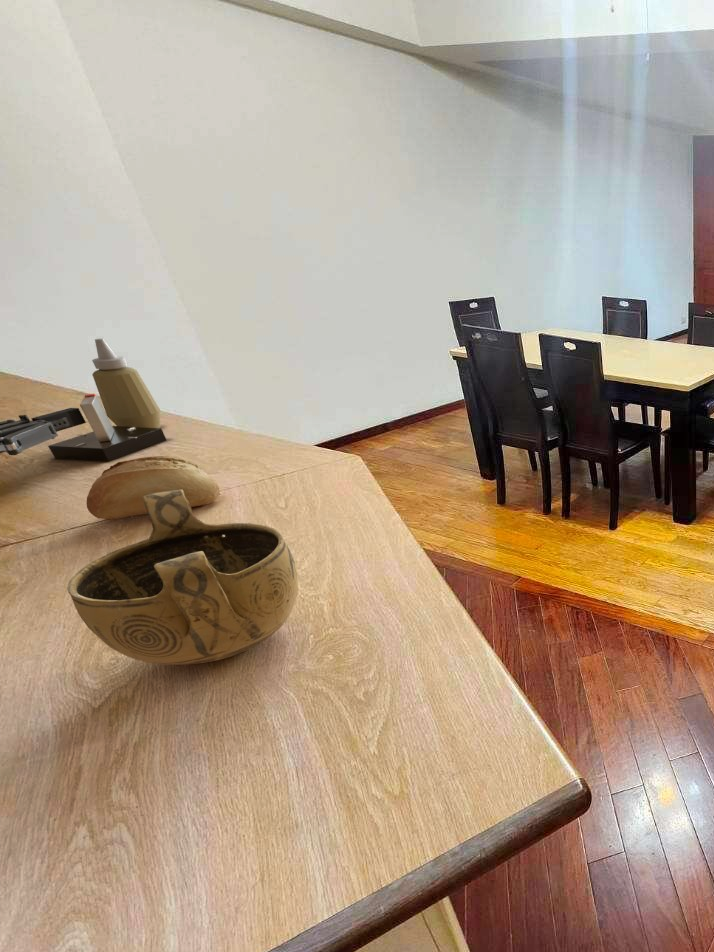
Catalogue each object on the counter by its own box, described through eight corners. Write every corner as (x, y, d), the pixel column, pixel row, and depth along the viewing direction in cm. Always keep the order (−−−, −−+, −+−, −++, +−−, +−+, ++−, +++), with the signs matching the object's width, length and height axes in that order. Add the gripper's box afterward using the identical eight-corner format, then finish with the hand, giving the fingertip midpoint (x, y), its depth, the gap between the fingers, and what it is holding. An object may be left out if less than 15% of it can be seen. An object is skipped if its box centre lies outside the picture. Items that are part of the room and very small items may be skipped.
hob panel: (112, 461, 107) (105, 447, 106) (51, 458, 107) (43, 444, 106) (169, 440, 117) (164, 427, 116) (114, 437, 117) (108, 424, 116)
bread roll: (97, 511, 90) (69, 462, 86) (220, 488, 99) (200, 442, 95) (95, 534, 84) (65, 482, 80) (226, 507, 93) (206, 460, 89)
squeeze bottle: (158, 421, 127) (118, 334, 118) (174, 428, 123) (134, 339, 114) (108, 430, 121) (62, 339, 112) (124, 438, 117) (78, 344, 108)
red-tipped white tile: (110, 440, 109) (91, 402, 105) (98, 442, 108) (78, 403, 105) (114, 430, 114) (95, 393, 110) (103, 432, 113) (84, 394, 109)
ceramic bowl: (340, 659, 63) (293, 536, 56) (124, 740, 53) (31, 602, 45) (294, 576, 77) (251, 468, 69) (116, 626, 66) (44, 506, 59)
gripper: (-113, 483, 87) (54, 433, 108) (-27, 487, 87) (123, 437, 108) (-148, 434, 84) (31, 392, 104) (-59, 439, 84) (103, 396, 104)
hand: (78, 415), depth 106 cm, fingers closed
